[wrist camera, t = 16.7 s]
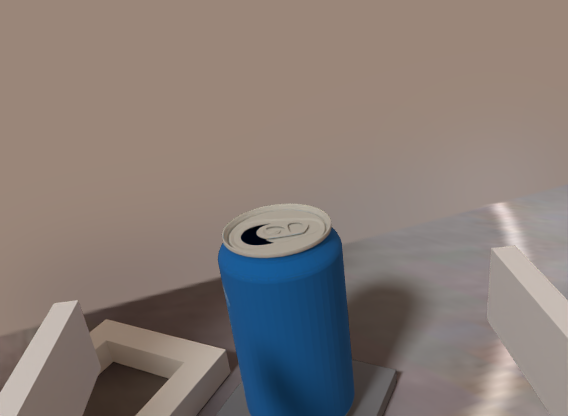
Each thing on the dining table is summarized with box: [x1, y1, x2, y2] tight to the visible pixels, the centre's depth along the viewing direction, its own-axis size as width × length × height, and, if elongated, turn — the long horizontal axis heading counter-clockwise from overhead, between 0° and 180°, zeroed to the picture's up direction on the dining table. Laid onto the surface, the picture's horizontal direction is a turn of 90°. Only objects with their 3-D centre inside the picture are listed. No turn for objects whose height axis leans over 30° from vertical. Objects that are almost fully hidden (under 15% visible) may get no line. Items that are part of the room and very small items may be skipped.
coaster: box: [216, 360, 397, 416], centre depth 32 cm, size 9×9×1 cm
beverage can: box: [218, 204, 355, 416], centre depth 29 cm, size 6×6×12 cm
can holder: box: [89, 319, 231, 416], centre depth 34 cm, size 11×11×2 cm
